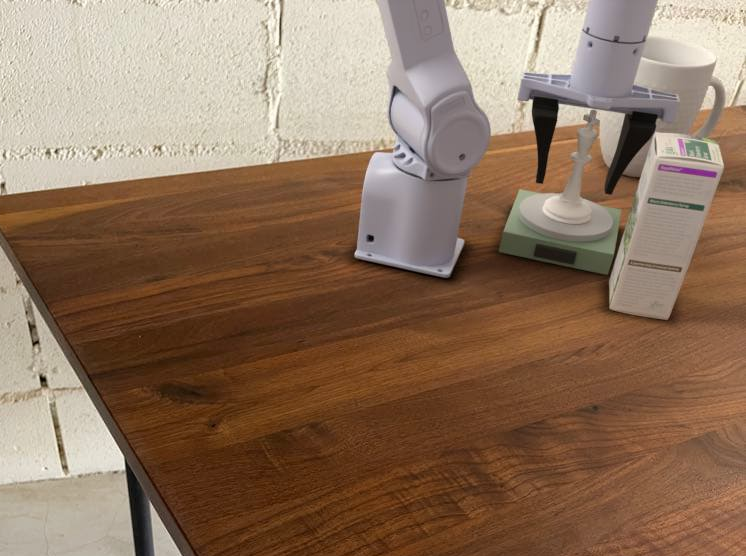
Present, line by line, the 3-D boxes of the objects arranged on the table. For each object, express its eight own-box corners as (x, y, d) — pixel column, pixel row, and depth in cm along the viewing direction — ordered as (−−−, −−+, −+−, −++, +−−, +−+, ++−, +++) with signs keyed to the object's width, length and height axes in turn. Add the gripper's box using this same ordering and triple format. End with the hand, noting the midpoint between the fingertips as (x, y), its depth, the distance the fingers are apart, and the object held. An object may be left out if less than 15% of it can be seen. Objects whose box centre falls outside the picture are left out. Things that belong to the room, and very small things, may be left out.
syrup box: (669, 321, 82) (730, 164, 72) (605, 310, 82) (657, 153, 72) (666, 292, 86) (723, 139, 76) (605, 281, 87) (653, 128, 76)
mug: (678, 148, 114) (717, 36, 104) (722, 185, 106) (768, 67, 97) (572, 149, 110) (602, 33, 101) (609, 187, 103) (645, 65, 94)
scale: (497, 253, 89) (503, 226, 87) (515, 208, 97) (521, 182, 95) (607, 277, 87) (616, 249, 85) (615, 229, 95) (623, 203, 93)
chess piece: (565, 228, 88) (594, 123, 81) (532, 207, 90) (556, 104, 83) (600, 218, 90) (631, 116, 83) (567, 199, 93) (593, 98, 86)
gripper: (531, 34, 76) (499, 189, 86) (701, 58, 75) (649, 213, 85) (534, 12, 81) (503, 161, 91) (693, 35, 80) (645, 184, 90)
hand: (573, 185), depth 88 cm, fingers open, 6 cm apart
